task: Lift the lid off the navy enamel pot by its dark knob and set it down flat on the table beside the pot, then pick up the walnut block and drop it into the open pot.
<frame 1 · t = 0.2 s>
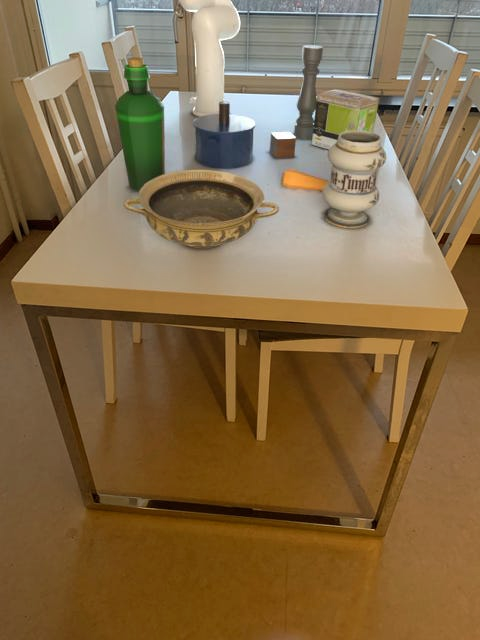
lid: (224, 124, 130), point 9 cm above the table, touching pot
candle holder: (303, 136, 153), on the table
tea box: (340, 148, 145), on the table
bottle: (147, 187, 118), on the table
block: (281, 154, 139), on the table
apothecary jar: (346, 218, 108), on the table
pot: (224, 158, 135), on the table
ceramic bowl: (202, 240, 98), on the table
carrot: (320, 191, 120), on the table
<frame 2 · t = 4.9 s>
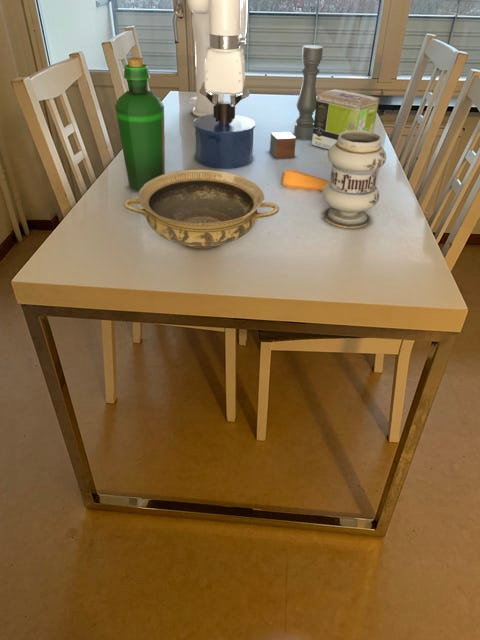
hand: (224, 120, 129), 10 cm above the table, tool pointing down, fingers closed on lid, 2 cm apart
lid: (224, 124, 130), point 9 cm above the table, touching gripper, pot
everything else where it was.
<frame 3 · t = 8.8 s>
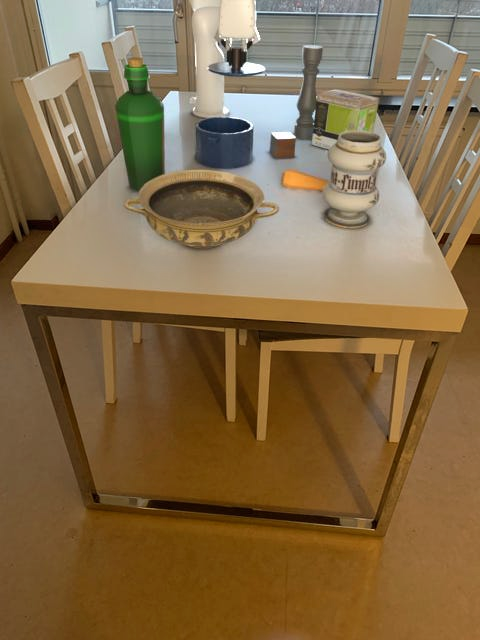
hand: (236, 65, 140), 20 cm above the table, tool pointing down, fingers closed on lid, 2 cm apart
lid: (236, 69, 141), point 18 cm above the table, touching gripper
everything else where it was.
when the fingers open (2 cm above the table, at t = 12.8 s): lid stays where it is, point 1 cm above the table.
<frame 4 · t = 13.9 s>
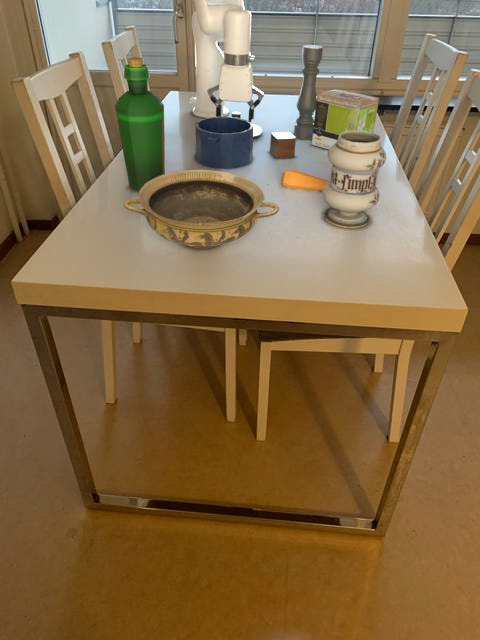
hand: (234, 120, 151), 4 cm above the table, tool pointing down, fingers open, 9 cm apart
lid: (235, 131, 153), point 1 cm above the table
everything else where it was.
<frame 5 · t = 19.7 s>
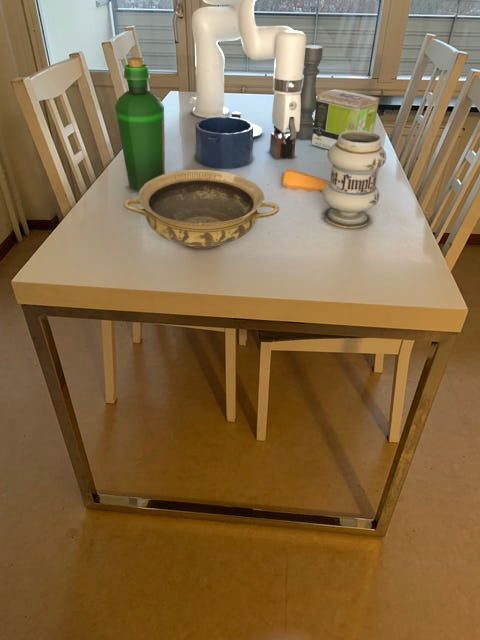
hand: (282, 153, 138), 1 cm above the table, tool pointing down, fingers closed on block, 5 cm apart
block: (281, 154, 139), on the table, touching gripper
everything else where it was.
when the fingers open (10 cm above the table, at t = 25.7 s): block drops 9 cm, resting on pot.
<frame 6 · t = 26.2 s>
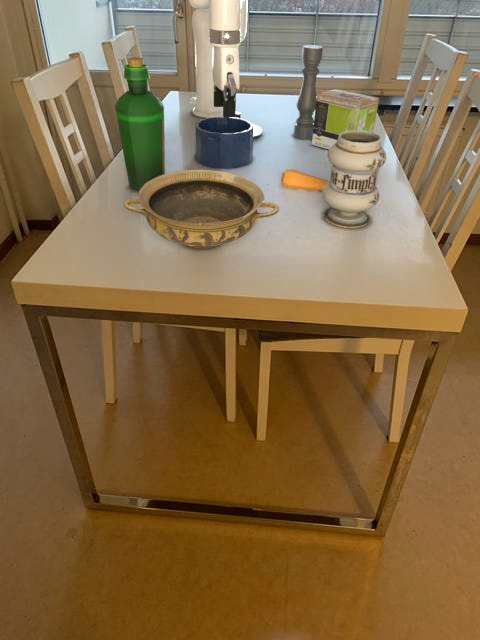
hand: (224, 111, 128), 12 cm above the table, tool pointing down, fingers open, 9 cm apart
block: (224, 156, 135), point 1 cm above the table, touching pot
everything else where it was.
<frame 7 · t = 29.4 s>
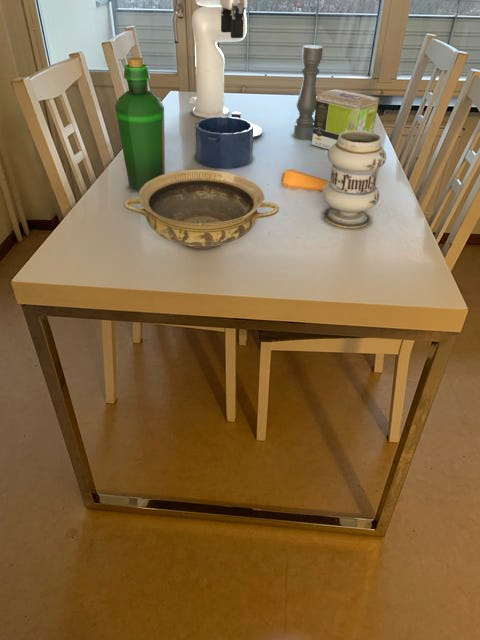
hand: (231, 34, 129), 28 cm above the table, tool pointing down, fingers open, 9 cm apart
nothing on the table moved.
at the end: lid inside the target area (0.2 cm from its centre), point 0.6 cm above the table; lid tilted 0°; block inside the target area in the pot (0.0 cm from its centre), point 0.5 cm above the pot's base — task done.
